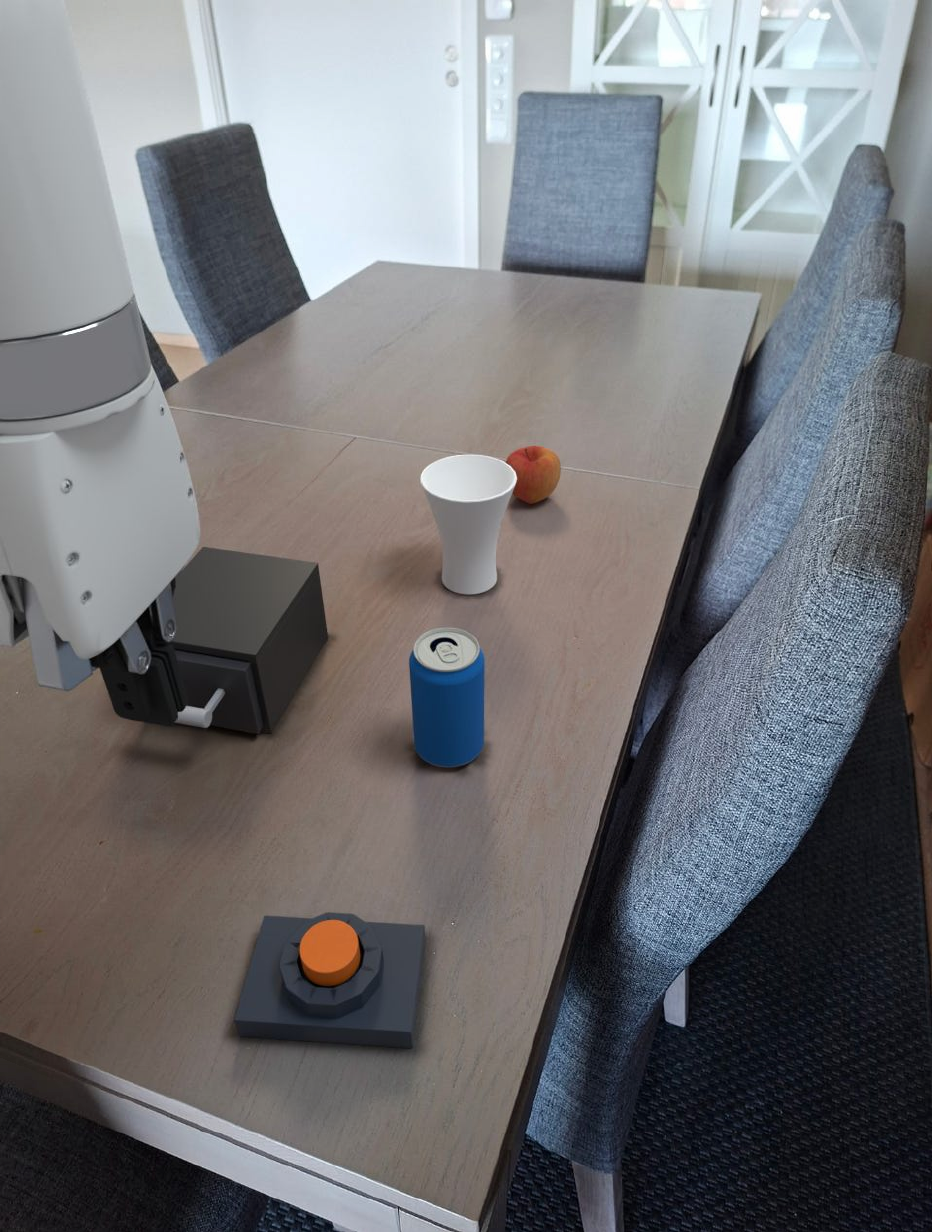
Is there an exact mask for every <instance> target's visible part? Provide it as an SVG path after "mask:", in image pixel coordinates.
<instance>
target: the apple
mask: <svg viewBox="0 0 932 1232" xmlns="http://www.w3.org/2000/svg"><path fill="white" fill-rule="evenodd" d="M505 463H506V464H508V465H510V466H511V467H512V469H513V470H514V471H515V472H516V476H517V481H516V484H515V487H514V490H513V492H512V495H514V496H515V497H516V498H518V499H519V500H521V501H523V502H524V503H526V504H528V505H532V504H535V503H539V502H540V501H543V500H546V498H548V497H549V496H551V495H552V494H553V493H554V491H555V490H556V488H557V486H558V485H559V482H560V479H561V475H562V474H561V473H562V467H561V461H560V458H559V456H558V455H557V453H555V452H554V451H552V450H551V449H549V448H547V447H543V446H540V445H539V446H538V445H530V446H525V447H520V448H518V449H516V450H513V451H512V452H511V453H510V454H509V455H508V456H507V457H506V460H505Z"/></svg>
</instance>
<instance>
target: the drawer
mask: <svg viewBox="0 0 932 1232" xmlns="http://www.w3.org/2000/svg"><path fill="white" fill-rule="evenodd" d="M174 650H175V653H176V657H177V661H178V664H179V668H180V671H181V675H182V679H183V682H184V686H185V689H186V693H187V697H188V700H189V703H188V705H187V706H186V708H185V709H184V710H183V711H182V712H178V719H177V720H176V721H175V723H176V724H180V725H187V726H193V727H198V728H202V729H203V728H204V729H208V728H209V727H210V726H213V727H218V728H223V729H229V730H234V731H240V732H245V733H251V734H256V735H259V734H260V733H261V732H260V731H261V729H262V728H263V726H264V724H263V720H262V715H261V710H260V706H259V701H258V696H257V691H256V687H255V682H254V677H253V673H252V668H251V663H249V662H248V661H244V660H238V659H232V658H226V657H220V656H215V655H209V654H203V653H197V652H191V651H185V650H179V649H174Z"/></svg>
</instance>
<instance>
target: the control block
mask: <svg viewBox="0 0 932 1232" xmlns="http://www.w3.org/2000/svg"><path fill="white" fill-rule="evenodd" d="M326 920H339V921H342V922H345V923H347V924H348V925H349V926H351V927H352V928H353V929H354V931H355V932H356V934H357V937H358V942H359V949H360V962H359V965H358V968H357V970H356V971H355V973H354V974H353V975H352V976H351V977H350V978H349V979H348V980H346V981H345V982H343V983H341V984H338V985H335V986H321V985H318V984H315V983H314V982H312V981H311V980H309V979H308V977H307V976H306V975H305V973H304V970H303V967H302V962H301V958H300V953H299V948H300V943H301V940H302V938H303V936H304V935H305V933H306V932H307V931H308V930H309V929H310V928H311V927H312V926H314V925H316V924H318V923H320V922H322V921H326ZM425 926H426V925H424V924H411V923H394V922H377V921H365V920H364V919H362V918H360V917H359V916H358V915H356V914H354V913H345V912H332V911H331V912H325V913H322V914H319V915H316V916H315V917H295V916H278V915H263V919H262V922H261V925H260V929H259V933H258V936H257V940H256V943H255V946H254V950H253V954H252V957H251V959H250V960H251V961H250V964H249V968H248V970H247V974H246V977H245V980H244V981H245V982H244V985H243V988H242V991H241V995H240V999H239V1002H238V1005H237V1009H236V1013H235V1016H234V1018H233V1022H234V1024H235V1027H236V1030H237V1033H238V1035H239V1037H246V1038H248V1037H249V1038H261V1039H276V1040H290V1041H304V1042H318V1043H319V1042H320V1043H331V1044H345V1045H360V1046H362V1045H363V1046H374V1047H375V1046H377V1047H389V1048H390V1047H391V1048H404V1049H413V1048H414V1042H415V1034H416V1024H417V1016H418V1008H419V1001H420V992H421V984H422V977H423V976H422V974H423V967H424V960H425V952H426V951H425V950H426V942H427V941H426V928H425Z"/></svg>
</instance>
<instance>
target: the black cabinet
mask: <svg viewBox="0 0 932 1232" xmlns="http://www.w3.org/2000/svg"><path fill="white" fill-rule="evenodd" d="M175 585H176V588H175V590H174V595H173V603H174V609H175V616H176V622H177V631H176V635H175V637H174V639H173V640H172V641H170V642H168V644H169V645H173V646H174V649H179V650H185V651H191V652H197V653H203V654H209V655H215V656H220V657H226V658H232V659H238V660H244V661H248V662H249V663H251V668H252V673H253V677H254V682H255V687H256V691H257V696H258V701H259V706H260V710H261V715H262V720H263V724H264V726H263V728H262V729H261V731H260V733H267V734H272V733H273V732H274V730H275V728H276V727H277V725H278V724H279V721H280V720H281V718H282V717H283V715H284V713H285V712H286V710H287V708H288V707H289V705H290V703H291V701H292V700H293V698H294V696H295V695H296V693H297V691H298V690H299V688H300V687H301V684H302V683H303V682H304V680H305V678H306V676H307V675H308V673H309V671H310V669H311V668H312V666H313V665H314V663H315V661H316V660H317V658H318V656H319V654H320V652H321V651H322V649H323V648H324V646H325V644H326V642H327V640H328V639H329V632H328V625H327V618H326V612H325V604H324V597H323V588H322V582H321V575H320V567H319V562H314V561H307V560H302V559H301V560H300V559H293V558H286V557H279V556H272V555H266V554H259V553H258V554H257V553H250V552H243V551H237V550H230V549H223V548H215V547H209V546H201V548H200V549H199V551H198V552H197V553H196V554H195V555H194V556H193V557H192V558H191V560H189V561H188V562H187V563H186V564H185V566H184V567H183V569H182V571H181V573H180V574H179V576H178V578H177V579H176V584H175Z"/></svg>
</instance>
